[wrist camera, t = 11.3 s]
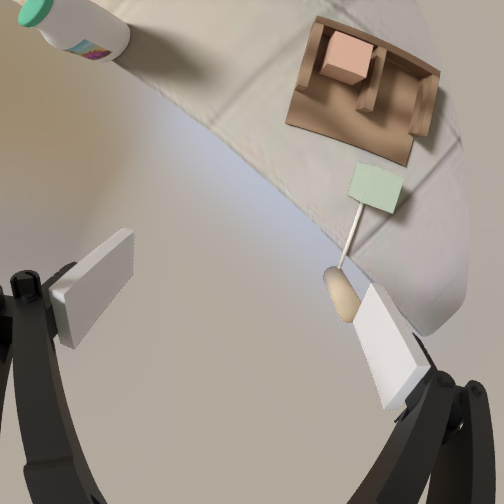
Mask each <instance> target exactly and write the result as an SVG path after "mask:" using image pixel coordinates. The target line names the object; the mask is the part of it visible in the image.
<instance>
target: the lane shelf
mask: <svg viewBox="0 0 504 504" xmlns="http://www.w3.org/2000/svg"><path fill="white" fill-rule="evenodd" d="M335 31H337V32H340V33H343V34H346V35H348V36H351V37H354V38H356V39H359V40H361V41H364V42H366V43H369V44H371V45H373V49H372V54H371V58H370V63H369V67H368V71H367V75H366V78H364V79H363V80H361V81H359V82H357V83H355V84H354V85H350V84H347V83H344V82H342V81H339V80H336V79H333V78H330V77H327V76H324V75H321V74H318V73H319V70H320V66H321V62H322V58H323V55H324V51H325V47H326V44H327V43H328V41H329V40H330V38H331V37H332V36H333V34H334V33H335ZM439 78H440V71H439V70H437V69H436V68H434V67H432V66H431V65H429V64H427V63H426V62H424V61H422V60H420V59H419V58H417V57H415V56H413V55H411V54H409V53H407V52H406V51H404V50H402V49H400V48H398V47H396V46H394V45H392V44H389V43H387V42H385V41H383V40H381V39H379V38H376V37H374V36H372V35H369V34H367V33H365V32H362V31H360V30H357V29H355V28H352V27H349V26H347V25H344V24H341V23H338V22H335V21H333V20H330V19H326V18H323V17H320V16H317V17H316V19H315V21H314V24H313V26H312V28H311V32H310V36H309V39H308V43H307V46H306V50H305V53H304V57H303V61H302V64H301V68H300V71H299V75H298V78H297V82H296V86H295V89H294V93H293V96H292V100H291V104H290V107H289V111H288V114H287V118H286V122H285V123H287V124H290V125H294V126H297V127H301V128H304V129H307V130H310V131H314V132H317V133H320V134H323V135H326V136H329V137H332V138H335V139H338V140H340V141H343V142H346V143H349V144H352V145H354V146H357V147H360V148H362V149H365V150H367V151H370V152H372V153H375V154H377V155H380V156H382V157H385V158H387V159H389V160H392V161H394V162H396V163H399V164H401V165H403V166H406V162H407V159H408V156H409V152H410V148H411V145H412V141H413V137H414V136H419V137H427V135H428V131H429V127H430V122H431V118H432V114H433V109H434V104H435V99H436V94H437V89H438V83H439Z"/></svg>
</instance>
